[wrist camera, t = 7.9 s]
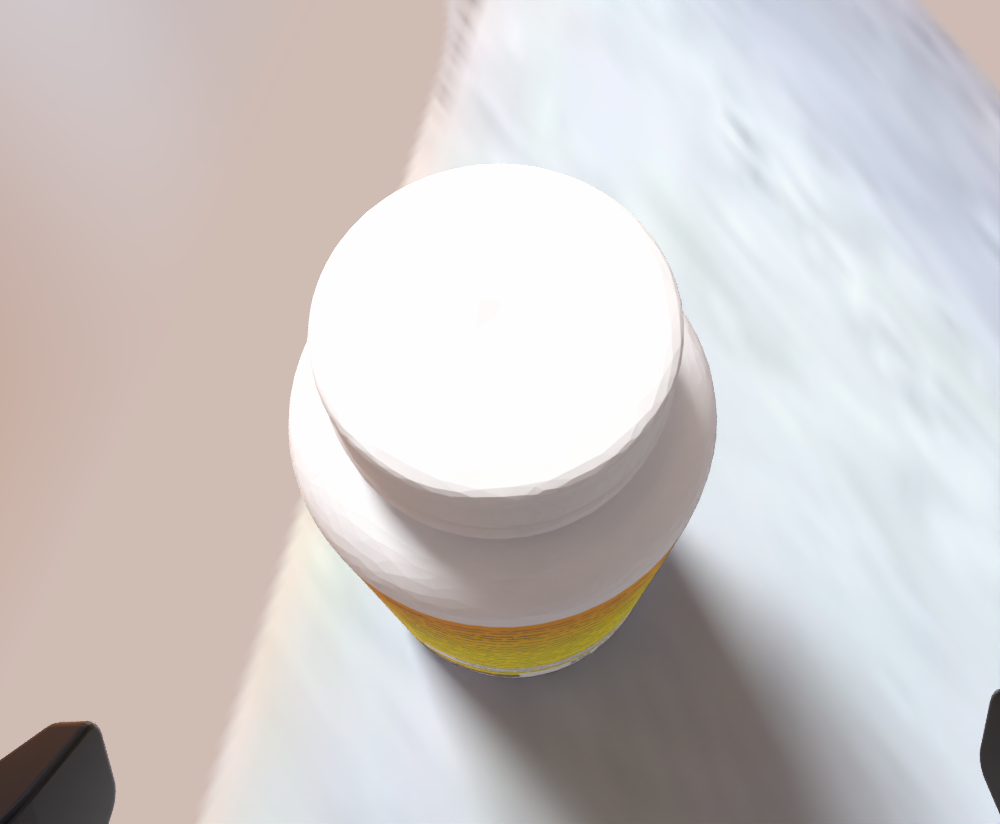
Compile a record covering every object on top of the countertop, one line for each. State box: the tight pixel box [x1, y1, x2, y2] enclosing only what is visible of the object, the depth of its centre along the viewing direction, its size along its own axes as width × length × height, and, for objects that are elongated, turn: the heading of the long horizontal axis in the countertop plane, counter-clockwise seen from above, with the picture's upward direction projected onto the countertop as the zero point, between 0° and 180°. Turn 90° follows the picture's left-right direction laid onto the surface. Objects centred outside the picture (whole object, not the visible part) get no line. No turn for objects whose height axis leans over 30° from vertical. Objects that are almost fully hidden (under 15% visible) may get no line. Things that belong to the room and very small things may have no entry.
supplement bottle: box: [289, 164, 717, 678], centre depth 14 cm, size 6×6×10 cm
